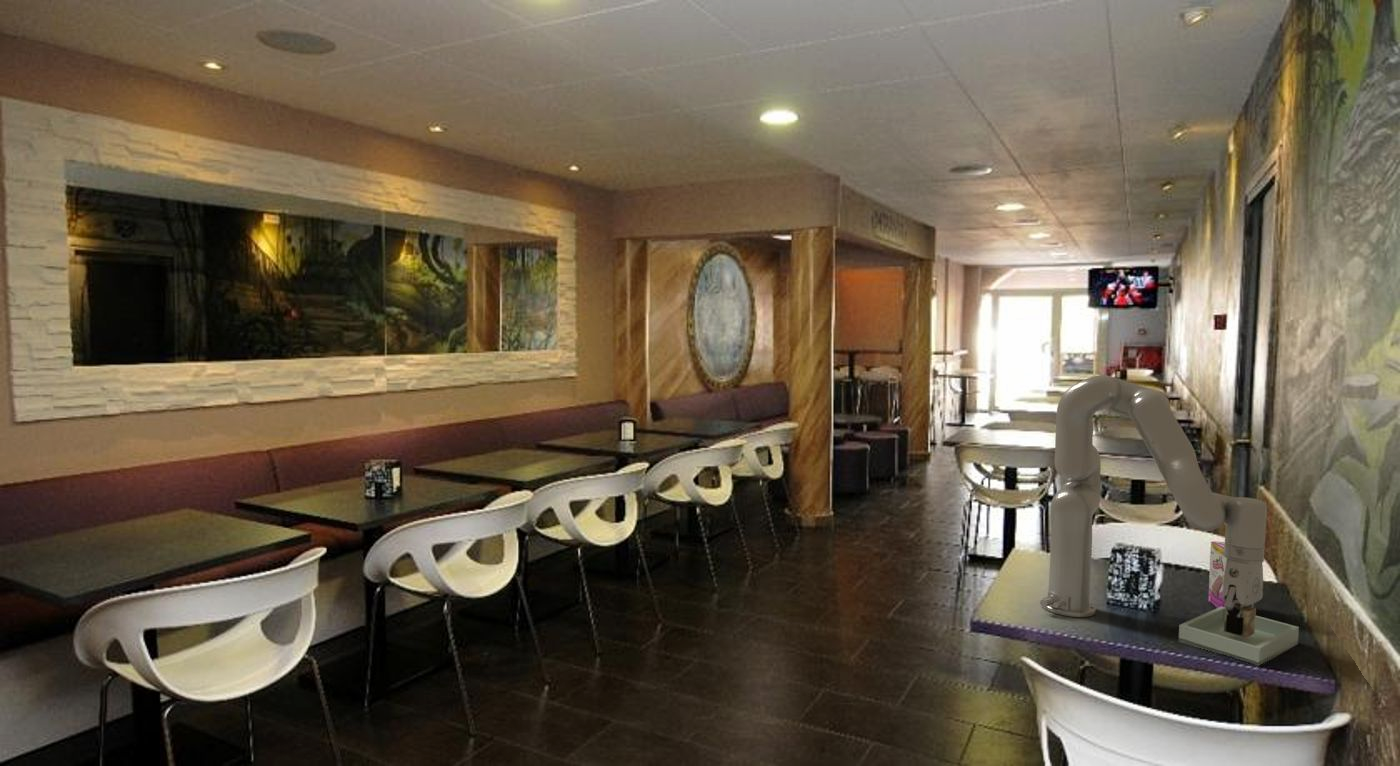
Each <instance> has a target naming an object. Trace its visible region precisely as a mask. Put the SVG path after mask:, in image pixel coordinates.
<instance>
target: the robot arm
mask: <svg viewBox="0 0 1400 766" xmlns="http://www.w3.org/2000/svg"><path fill="white" fill-rule="evenodd" d="M1171 407H1172V406H1171V403H1170V400H1169V398H1168V397H1167V396H1166V395H1165V394H1163V393H1162V392H1160V391H1158V390H1156V389H1155V390H1154V389H1152V388H1148V387H1145V386H1142V385H1139V384H1136V383H1133V382H1130V381H1127V380H1123V379H1120V378H1118V377H1115V376H1110V375H1107V374H1101V375H1094V376H1090V377H1088V378H1087V377H1086V378H1085V379H1083V380H1080V381H1078V382H1076V383H1074V384H1073V385H1072V386H1069V388H1067V389H1066V390H1065V392H1064V393H1063V394H1062V396H1061V397H1060V398H1059V401H1058V405H1057V407H1056V414H1055V415H1056V416H1055V418H1056V420H1055V422H1056V423H1055V438H1054V439H1055V440H1054V441H1055V447H1054V459H1053V461H1054V467H1055V471H1056V472H1057V474H1058V475H1059V476H1060V489H1059V490H1058V491H1057V492H1055V494H1054V495H1053V497H1052V499H1051V501H1050V502H1051V503H1050V508H1049V509H1050V514H1049V515H1050V549H1049V551H1050V553H1049V571H1048V572H1049V573H1048V574H1049V575H1048V591H1047V596H1046V597H1043V598H1042V599H1041V600H1040V602H1039V604H1040V606H1041V607H1042V608H1043V609H1045V610H1046V611H1049V612H1051V613H1053V614H1056V615H1061V616H1066V617H1072V618H1073V617H1074V618H1087V617H1092V616H1094V615H1095V614H1096V613H1097V612H1096V607H1095V605H1093V604H1092V603H1090V592H1091V590H1090V589H1091V574H1092V573H1091V571H1092V554H1093V553H1092V550H1093V517H1094V516H1093V515H1094V514H1095V513H1096V511H1097V510H1098V508H1099V505H1100V501H1101V469H1102V466H1101V464H1102V463H1101V455H1100V453H1099V451H1098V449H1097V447H1095V445H1094V444H1093V441H1094V439H1093V434H1094V422H1093V421H1094V415H1095V414H1096V413H1097V412H1100V411H1103V410H1106V411H1109V412H1112V413H1116V414H1119V415H1121V416H1124V417H1127V418H1130V420H1131V422H1132V424H1133V425H1134V428H1135V429H1136V431H1137V432H1138V434H1139V435H1140V437H1141V439H1142V440H1143V443H1144V444H1145V445H1146V448H1147V449H1148V451H1149V453H1150V455H1151V456H1152V457H1153V459H1154V462H1155V463H1156V465H1157V468H1158V471H1159V472H1160V474H1161V475H1162V477H1163V480H1164V481H1165V483H1166V485H1167V487H1168V489H1169V491H1170V493H1171V494H1172V497H1173V499H1174V500H1175V502H1176V504H1177V505H1178V507H1179V509H1180V510H1181V512H1182V514H1183V515H1184V517H1185V519H1186V520H1187V521H1188V523H1189V524H1190V525H1191V526H1192V527H1194V528H1195V529H1198V530H1200V531H1204V532H1205V531H1206V532H1207V531H1213V530H1214V531H1215V530H1216V529H1219V528H1220V527H1221V526H1222V525H1225V529H1224V530H1225V532H1224V542H1225V545H1224V557H1225V558H1227V561H1226V567H1225V573H1224V582H1223V599H1224V600H1225V605H1224V606H1225V607H1226V609H1227V611H1226V614H1227V617H1226V631H1227V632H1230V633H1234V634H1237V635H1242V633H1243V618H1242V611H1243V606H1245V607H1246V606H1250V607H1254V606H1255V605H1254V604H1256V603H1257V602H1259V601H1261V600H1262V599H1263V596H1264V595H1263V594H1264V591H1263V590H1264V568H1263V566H1264V565H1263V563H1264V561H1265V548H1266V533H1267V531H1266V530H1267V520H1268V519H1267V517H1268V507H1267V504H1266V502H1265V501H1263V500H1260V499H1258V498H1253V497H1244V496H1238V497H1237V496H1235V497H1234V496H1232V495H1231V496H1230V495H1225V494H1222V493H1217V492H1213V491H1212V490H1211V488H1210V485H1209V484H1208V483H1207V481H1206V479H1205V477H1204V475H1203V473H1202V471H1201V469H1200V466H1199V463H1198V459H1197V455H1196V451H1195V449H1194V447H1193V444H1192V443H1191V441H1190V440H1189V438H1188V436H1187V435H1186V433H1185V432H1184V430H1183V428H1182V426H1181V424H1179V422H1178V420H1177V418H1176V416H1175V415H1174V413H1173V412H1172V410H1171V409H1172V408H1171ZM1235 600H1238V603H1236V602H1234V601H1235ZM1234 605H1236V606H1239V607H1238V610H1237V608H1236V607H1234ZM1254 608H1255V607H1254Z"/></svg>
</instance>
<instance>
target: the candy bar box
mask: <svg viewBox="0 0 1400 766" xmlns="http://www.w3.org/2000/svg"><path fill="white" fill-rule="evenodd" d="M1224 545H1225V541H1216V540H1215V541H1210V554H1209V557H1210V559H1209V577H1208V592H1207V593H1208V595H1207V603H1210V605H1212V606H1213V607H1215V609H1216V608H1219V607H1221V606H1222V607H1225V606H1224V605H1225V600H1224V599H1223V582H1224V573H1225V567H1226V561H1227V558H1225V557H1224ZM1234 602H1236V603H1238V600H1235V601H1234Z"/></svg>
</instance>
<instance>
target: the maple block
mask: <svg viewBox="0 0 1400 766" xmlns="http://www.w3.org/2000/svg"><path fill="white" fill-rule="evenodd" d="M1234 607H1236V608H1237V610H1238V607H1239V606H1236V605H1234ZM1226 611H1227V609H1226V607H1225V621H1224V632H1227V631H1226V617H1227V614H1226ZM1256 614H1257V607H1250V606H1246V607H1245V606H1243V611H1242V618H1243V633H1242V635H1238V636H1241V637H1245V638H1247V637H1249V636H1251V635H1253V634H1254V630H1255V616H1257V615H1256ZM1228 633H1230V632H1228ZM1231 634H1234V633H1231ZM1234 635H1237V634H1234Z"/></svg>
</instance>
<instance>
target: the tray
mask: <svg viewBox="0 0 1400 766" xmlns="http://www.w3.org/2000/svg"><path fill="white" fill-rule="evenodd" d="M1224 621H1225V607H1222V606H1221V607H1219V608H1216V607H1215V609H1213V610H1210V611H1208V612H1206V613H1205V612H1204V614H1201V615H1199V616H1197V617H1195V618H1192V619H1190V620H1187V621H1185V622H1183V623H1180V624H1179V625H1178V626H1179V627H1178V643H1181V644H1184V645H1187V646H1190V647H1193V646H1194V648H1196V647H1197V649H1199V648H1201V649H1200V650H1203V649H1205V650H1204V651H1206V650H1208V651H1207V652H1209V651H1212V652H1215V653H1214V654H1216V653H1219V654H1224V655H1227V656H1232V657H1235V658H1237V659H1240V660H1244V661H1247V662H1250V663H1253V664H1255V665H1258V666H1259V665H1261V664H1263V663H1264V664H1266V663H1268V662H1270V661H1271V660H1273V659H1274V658H1276V657H1278V656H1280V655H1281V654H1283V653H1284V652H1287V651H1288V650H1290V649H1292V648H1293V647H1295V646H1297V645H1299V634H1300V632H1299V631H1300V629H1299V628H1300V627H1299V626H1297V625H1293V624H1289V623H1285V622H1281V621H1279V620H1274V619H1270V618H1267V617H1262V616H1258V615H1256V616H1255V630H1254V634H1253V635H1251V636H1249V637H1247V638H1245V637H1241V636H1238V635H1234V634H1231V633H1228V632H1224ZM1212 652H1211V653H1212ZM1219 654H1218V655H1219ZM1269 660H1270V661H1269ZM1267 661H1268V662H1267ZM1265 662H1266V663H1265ZM1264 664H1263V665H1264ZM1261 666H1262V665H1261ZM1259 667H1260V666H1259Z"/></svg>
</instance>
